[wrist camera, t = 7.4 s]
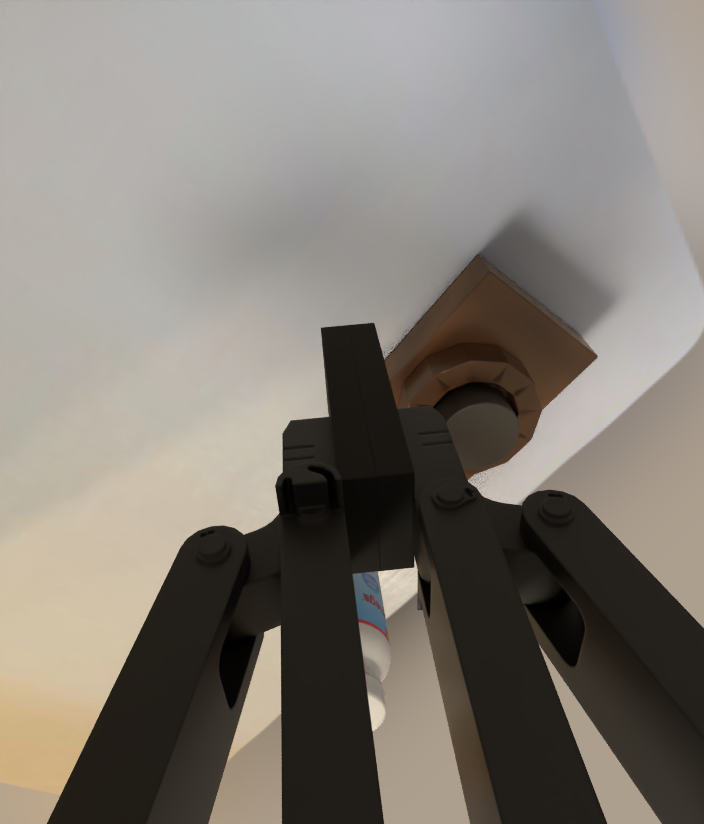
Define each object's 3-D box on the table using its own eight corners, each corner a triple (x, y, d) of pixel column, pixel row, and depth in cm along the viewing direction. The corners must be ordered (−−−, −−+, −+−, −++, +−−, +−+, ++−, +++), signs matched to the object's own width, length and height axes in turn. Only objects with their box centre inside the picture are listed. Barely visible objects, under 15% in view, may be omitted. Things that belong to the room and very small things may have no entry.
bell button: (469, 369, 31) (478, 388, 29) (525, 408, 33) (537, 428, 31) (415, 425, 32) (421, 446, 31) (471, 459, 34) (480, 481, 33)
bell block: (477, 253, 31) (501, 286, 28) (582, 337, 35) (614, 375, 31) (331, 420, 36) (336, 465, 33) (435, 479, 39) (449, 526, 36)
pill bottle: (376, 580, 44) (403, 740, 35) (288, 592, 44) (291, 756, 35) (370, 516, 41) (399, 675, 31) (274, 528, 40) (275, 692, 31)
